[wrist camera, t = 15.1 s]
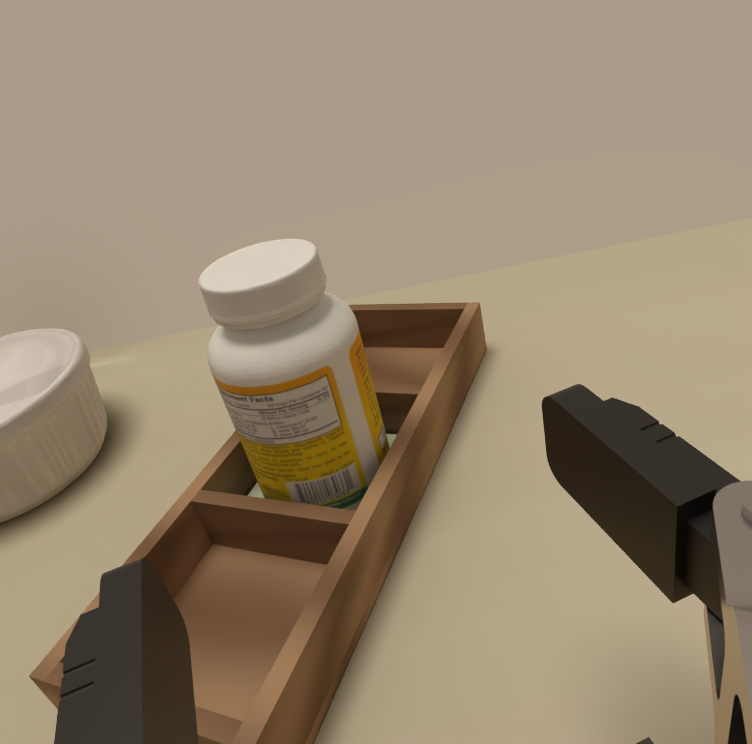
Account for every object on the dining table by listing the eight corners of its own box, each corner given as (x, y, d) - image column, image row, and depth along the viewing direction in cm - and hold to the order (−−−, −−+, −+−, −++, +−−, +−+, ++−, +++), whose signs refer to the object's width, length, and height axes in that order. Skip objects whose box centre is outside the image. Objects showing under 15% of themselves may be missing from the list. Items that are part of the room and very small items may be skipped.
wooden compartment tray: (284, 807, 16) (250, 753, 15) (73, 726, 19) (29, 676, 18) (486, 348, 32) (479, 302, 31) (352, 347, 36) (341, 305, 34)
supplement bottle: (334, 551, 22) (245, 313, 17) (240, 502, 26) (143, 291, 21) (422, 458, 25) (369, 234, 20) (328, 425, 29) (262, 225, 24)
